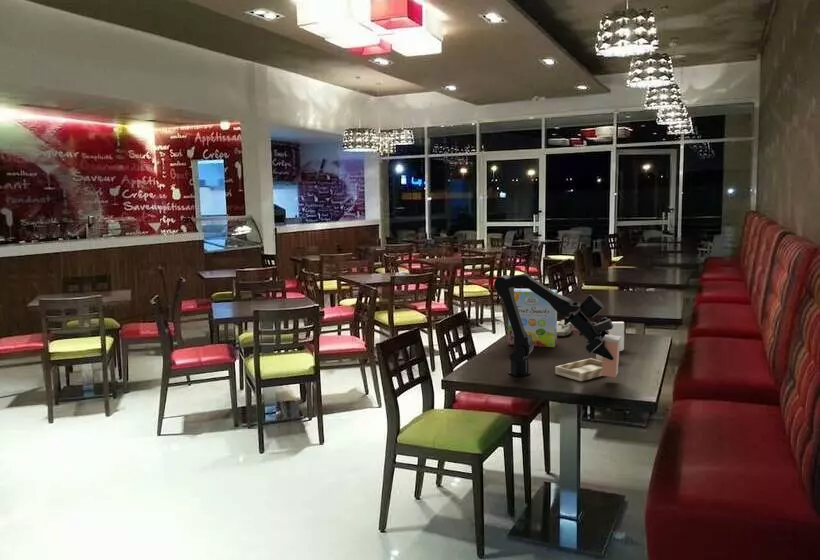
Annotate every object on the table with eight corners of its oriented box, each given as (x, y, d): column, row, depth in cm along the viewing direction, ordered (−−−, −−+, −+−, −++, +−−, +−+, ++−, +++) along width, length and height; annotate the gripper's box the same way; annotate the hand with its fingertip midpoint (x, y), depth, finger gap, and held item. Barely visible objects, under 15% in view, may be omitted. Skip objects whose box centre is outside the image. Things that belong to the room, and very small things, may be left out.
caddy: (600, 375, 245) (602, 338, 243) (603, 370, 252) (605, 334, 249) (616, 377, 243) (618, 340, 241) (618, 372, 249) (621, 336, 247)
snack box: (507, 345, 310) (507, 290, 306) (510, 341, 318) (510, 287, 314) (555, 347, 303) (555, 291, 299) (557, 343, 311) (557, 288, 308)
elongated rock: (579, 326, 354) (559, 326, 357) (578, 316, 354) (559, 317, 357) (570, 337, 321) (549, 337, 325) (569, 326, 321) (548, 326, 324)
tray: (581, 381, 250) (581, 373, 250) (555, 373, 261) (555, 366, 260) (616, 372, 261) (616, 364, 261) (590, 365, 272) (590, 358, 271)
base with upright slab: (621, 346, 302) (621, 320, 300) (625, 351, 293) (626, 324, 291) (601, 346, 303) (601, 320, 301) (604, 351, 294) (605, 324, 292)
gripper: (595, 316, 237) (627, 349, 234) (603, 307, 254) (633, 337, 251) (573, 336, 242) (603, 368, 239) (582, 326, 258) (611, 356, 255)
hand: (613, 357), depth 246 cm, fingers closed on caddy, 6 cm apart
